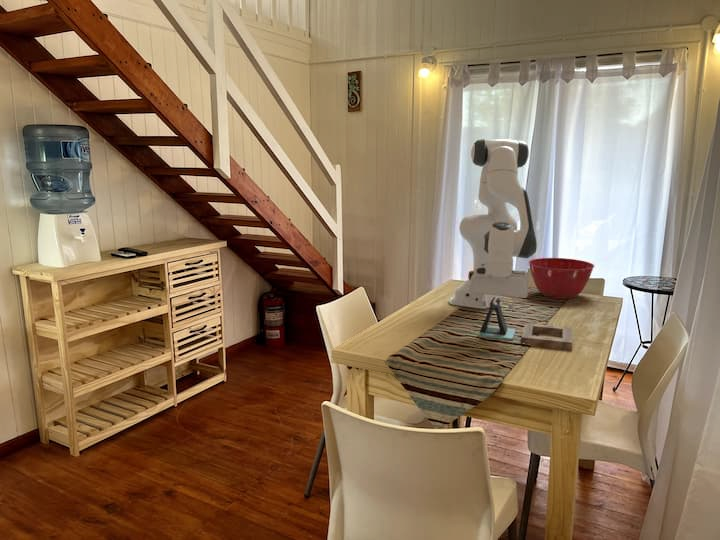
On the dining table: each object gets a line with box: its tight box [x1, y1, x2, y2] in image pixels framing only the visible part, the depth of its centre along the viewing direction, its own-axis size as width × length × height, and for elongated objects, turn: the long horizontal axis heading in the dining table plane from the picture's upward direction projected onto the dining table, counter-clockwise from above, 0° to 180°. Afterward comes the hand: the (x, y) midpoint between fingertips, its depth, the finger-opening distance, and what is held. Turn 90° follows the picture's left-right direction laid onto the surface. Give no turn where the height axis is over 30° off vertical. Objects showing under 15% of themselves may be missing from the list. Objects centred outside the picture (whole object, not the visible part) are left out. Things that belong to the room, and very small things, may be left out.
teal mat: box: [477, 325, 517, 341], centre depth 195 cm, size 12×12×1 cm
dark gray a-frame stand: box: [479, 297, 508, 335], centre depth 194 cm, size 9×6×12 cm, turn 68°
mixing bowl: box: [528, 257, 595, 300], centre depth 251 cm, size 28×28×16 cm
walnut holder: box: [520, 322, 573, 351], centre depth 189 cm, size 16×18×2 cm
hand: (497, 307), depth 193 cm, fingers open, 8 cm apart
